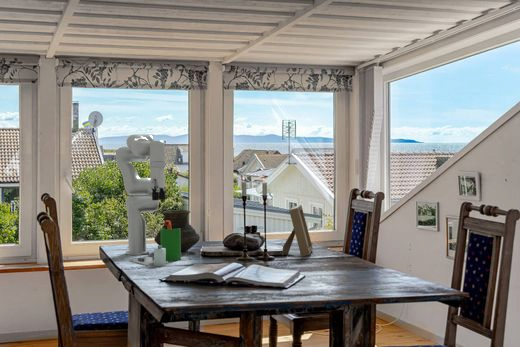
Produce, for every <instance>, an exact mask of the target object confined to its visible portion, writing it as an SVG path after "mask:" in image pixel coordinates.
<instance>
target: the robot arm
mask: <svg viewBox="0 0 520 347" xmlns="http://www.w3.org/2000/svg"><path fill="white" fill-rule="evenodd" d="M126 145H127V146H122V147H118V149H116V151H115V161H116V164H117V167H118V168H119V169H118V170H119V171H120V172H121V175H122V182H123V184H124V189H125V192H126V194H127V195H129V196H128V197H127V198H126V200H125V208H126V213H127V236H128V237H127V238H128V239H127V240H128V242H127V244H128V245H127V249H128V250H127V251H125V255H127V256H128V255H129V256H142V255H148V254H150V250H148V249H147V221H146V218H145V217H144V216H143V214H142V213H155V212H156V211H158V209H159V204H160V203H159V201H161V200H163V201H164V200H166V174H165V169H166V151H165V147H166V146H165V142H164V141H163V140H154V137H153V136H152V135H151V134H143V133H142V134H137V133H136V134H135V133H134V134H131V135H129V136H128V137H127V138H126ZM147 160H149V169H150V176H149V177H140V176H139V173H138V170H137V168H136V167H135V166H134V165H133V164H131V163H139V162H143V163H144V162H146V161H147Z"/></svg>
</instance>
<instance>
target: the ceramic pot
mask: <svg viewBox="0 0 520 347" xmlns="http://www.w3.org/2000/svg"><path fill="white" fill-rule="evenodd" d="M190 213H191V210H188V209H187V210H186V209H177V210H176V209H174V210H173V209H172V210H166V211H161V214H163V216H164V222H165V221H171V227H172V229H179V228H180V229H181V254H184V253H187V252H188V251H189V250H190V249H191V248H192V247H194V246H195V245H196V244H198V243H199V241H200V240H201V239H200V238H201V237H200V234H199V233H197V231H196V229H195V228H194V227H193V226H192V225H191V223H190V221H189V214H190ZM161 228H165V229H167V225H165V223H164V224H163V225H162V227H161ZM154 242H155V243H156V244H157V246H158V245H161V239H160V230H159V232H157V234H156V235H155V237H154Z"/></svg>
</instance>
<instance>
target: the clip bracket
mask: <svg viewBox="0 0 520 347" xmlns="http://www.w3.org/2000/svg"><path fill="white" fill-rule="evenodd" d="M128 261H129V262H132V263H135V264H140V265H143V266H148V267H149V266H154V255H153V256H152V257H151V256H145V257H143V256H142V257H135V258H134V257H133V258H129V259H128ZM166 264H169V261H166Z"/></svg>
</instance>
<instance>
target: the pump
mask: <svg viewBox="0 0 520 347" xmlns="http://www.w3.org/2000/svg"><path fill="white" fill-rule="evenodd" d="M153 256H154V265H153V266H154V267H165V266H167V263H166V248H162V245H158V244H157V247H156V248H154V249H153Z"/></svg>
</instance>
